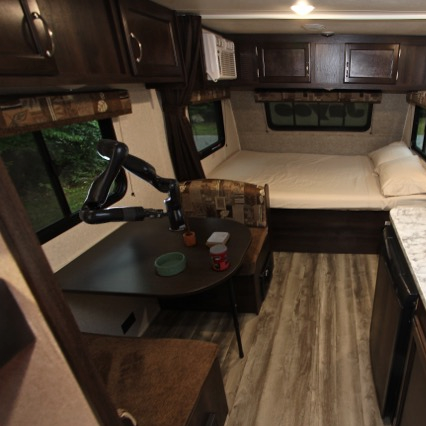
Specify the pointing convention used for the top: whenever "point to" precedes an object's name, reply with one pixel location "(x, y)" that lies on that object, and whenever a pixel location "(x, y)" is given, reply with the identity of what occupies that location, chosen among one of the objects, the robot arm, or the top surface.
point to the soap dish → (217, 239)
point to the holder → (189, 239)
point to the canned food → (219, 257)
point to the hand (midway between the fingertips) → (166, 212)
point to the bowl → (170, 264)
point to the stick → (187, 225)
